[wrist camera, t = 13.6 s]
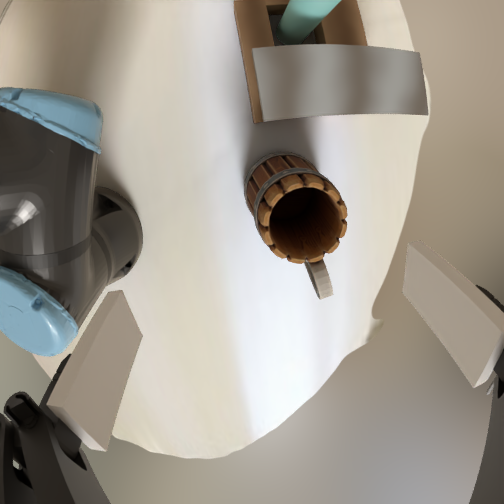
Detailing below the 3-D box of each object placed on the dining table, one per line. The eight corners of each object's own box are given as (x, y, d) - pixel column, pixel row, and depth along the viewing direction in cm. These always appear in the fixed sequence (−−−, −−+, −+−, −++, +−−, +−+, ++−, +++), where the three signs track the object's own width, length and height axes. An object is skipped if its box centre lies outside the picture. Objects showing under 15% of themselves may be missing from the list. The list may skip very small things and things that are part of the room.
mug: (232, 166, 38) (230, 191, 24) (305, 140, 37) (345, 151, 23) (270, 263, 44) (284, 326, 31) (335, 239, 43) (374, 293, 29)
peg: (278, 46, 31) (305, 2, 16) (273, 22, 29) (296, -32, 15) (307, 45, 31) (350, 4, 16) (302, 21, 29) (340, -29, 14)
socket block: (253, 123, 35) (264, 121, 21) (234, 11, 28) (233, -43, 14) (365, 113, 35) (428, 115, 21) (346, 8, 28) (394, -32, 14)
